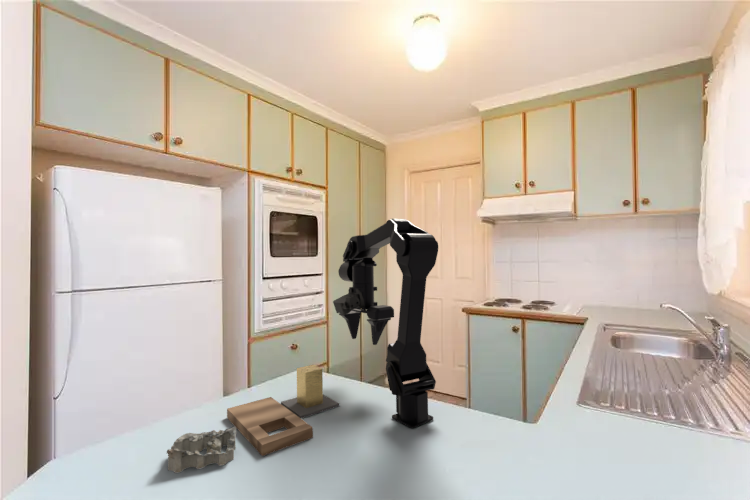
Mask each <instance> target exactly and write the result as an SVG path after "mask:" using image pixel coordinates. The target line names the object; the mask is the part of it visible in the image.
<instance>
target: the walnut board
mask: <svg viewBox="0 0 750 500" xmlns="http://www.w3.org/2000/svg"><path fill="white" fill-rule="evenodd" d="M226 418H227V420H229V422H230V423H231V424H232V425H233V427H235V426H236V430H238V431H239V433H240V434H241V435H242V436H243V437H244V438H245V439H246V441H248V442H249V444H251V446H252V447H253V448H254V449H255V450H256V451H257V452H258V453H259V454H260V455H261V457H265V456H267V455H270V454H272V453H277V452H278V451H280V450H284V449H286V448H290V447H292V446H294V445H297V444H300V443H303V442H305V441H308V440H309V439H313V438H314V431H313V430H314V428H313V426H312V425H310V424H309V423H307V421H305V420H304V419H303V418H299V417H298V416H297V415H295V414H294V413H292V412H291V411H290V410H288V409H287V408H286V407H284V406H283V405H281V402H279V401H277V400H276V399H274V397H272V396H270V397H269V396H268V397H266V398H262V399H259V400H255V401H250V402H246V403H243V404H239V405H236V406H232V407H228V408H226ZM283 428H285V430H283V431H279V432H277V433H273V434H270V435H269V434H268V433H271V432H275V431H277V430H281V429H283Z"/></svg>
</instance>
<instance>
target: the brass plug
mask: <svg viewBox="0 0 750 500" xmlns="http://www.w3.org/2000/svg"><path fill="white" fill-rule="evenodd" d="M323 379H324V378H323V368H322V367H319V366H318V365H315V364H310V365H306V366H301V367H297V368H296V397H297V403H299V404H300V405H302V406H303V407H305V408H309V407H312V406H315V405H318V404H322V403H323V395H324V394H323V393H324V390H323V383H324V382H323Z"/></svg>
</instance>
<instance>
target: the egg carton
mask: <svg viewBox="0 0 750 500" xmlns="http://www.w3.org/2000/svg"><path fill="white" fill-rule="evenodd" d="M236 435H237V428H236V426H233V427H231V428H225V430H221V429H219V430H218V431H216V430H215V429H213V430H211V431H208V432H207V431H205V432H204V431H203V432H200V433H197V432H196V433H194V432H187V433H184V434H183V435H181V436H180V437H178V438H176V440H174V442H173V445H171V447H170V448H169V449H167V450H166V454H167V459H168V460H167V471H171V472H173V473H176V474H178V473H181V472H183V471H184V470H185V469H188V468H196V470H200V469H204V468H205V467H208V465H211V464H217V465H218V466H224V465H226V464H227V463H228V462H230V461H233V460H234V459H235V450H236V448H237V447H236V443H237V442H236ZM224 446H225V447H227V448H226V449H225V452H222V448H224ZM203 450H206V453H205V454H201V453H200V452H203Z"/></svg>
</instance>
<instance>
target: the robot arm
mask: <svg viewBox="0 0 750 500" xmlns="http://www.w3.org/2000/svg"><path fill="white" fill-rule="evenodd" d="M388 245H389V247H391V249H392V250H393V251H394V252H395V253H396V254H395V255H396V258H395V259H396V264H397V265H398V268H399V270H400V272H401V273H402V280H401V281H402V283H401V292H400V302H399V303H400V304H399V305H400V306H399V315H398V317H399V318H398V326H397V327H398V328H397V338H396V341H395V342H393V343H388V345H387V348H386V349H387V350H386V354H387V355H386V359H385V362H386V366H385V372H386V378H387V383H388V387H389V391H390V392H391V395H393V396H395V398H396V399H395V407H396V409H395V411H396V413H394V414H392V415H391V419H392V420H395V421H397V422H398V423H400V424H402V425H405V426H407V427H408V428H410V429H415V428H417V427H420V426H421V425H424V424H426V423H429V422H431V421H433V420H434V416H432V415H429V397H428V394H429V392H428V391H431V390H432V391H433V390H435V388H436V383H437V381H436V379H435V377H434V374H433V372H432V370H431V368H430V367H429V364H428V362H427V353H426V351H425V349H424V347H423V345H422V343H421V338H422V326H423V318H424V317H423V316H424V306H425V296H426V287H427V286H426V285H427V277H428V276H429V274H430V272H431V271H432V270H433V268H434V267H435V266H436V262H437V257H438V255H439V254H438V253H439V243H438V241H437V240H436V238H435V236H434V235H433V234H431V233H429V232H428V231H426V230H424V229H422V228H421V227H419V226H417V225H415V224H413V223H412V222H411V221H410V220H408V219H406V218H390V219H388V220H387V221H386V222H385V223H384V224H382V225H380V226H379V227H377V228H375V229H374V230H372V231H370V232H369V233H367V234H359V235H353V236H351V237H350V238H349V240H348V242H347V244H346V247H345V250H344V251H343V255H342V263H341V264H340V266H339V269H338V277H339V278H340V279H341V280H343V281H345V282H351V283H352V286H350V287H349V288H348V293H347V294H344V295H342V296H340V297H338V298H336V299H335V300H333V301H332V303H333V306H334V309H335V312H336V313H337V314H338V315H339V316H341V317H342V318H343V319H344V320H345V322H346V324H347V327H348V330H349V333H350V336H351V339H352V340H356V338H357V337H358V333H359V327H360V320H361V317H362V316H361V315H362V314H366V316H367V319H366V321H367V322H368V324H369V325H370V330H371V341H372V345H373V346H377V345H378V343H379V341H380V339H381V337H382V334H383V331H384V330H385V328H386V326H387V324H388V322H389V321H391V320H392V318H395V309H394V307H393V306H391V305H387V304H382V305H381V304H380V305H378V302H377V301H375V292H377V291H378V286H374V285H375V282H374V281H375V280H374V279H375V278H374V277H375V276H374V274H375V273H374V271H375V270H374V267H376V266H377V265H378V264H377V263H376V261H375V260H374V258H375V257H376V256H377V255H378V254H379V253H380V249H381V248H382V247H385V246H388ZM414 380H417V381H414ZM409 381H412V382H409ZM406 382H407V383H406Z"/></svg>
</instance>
